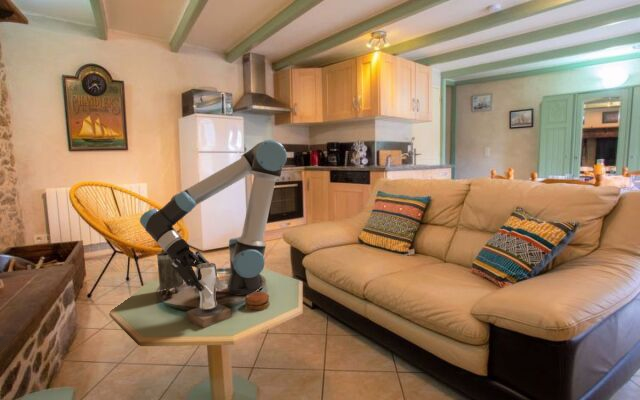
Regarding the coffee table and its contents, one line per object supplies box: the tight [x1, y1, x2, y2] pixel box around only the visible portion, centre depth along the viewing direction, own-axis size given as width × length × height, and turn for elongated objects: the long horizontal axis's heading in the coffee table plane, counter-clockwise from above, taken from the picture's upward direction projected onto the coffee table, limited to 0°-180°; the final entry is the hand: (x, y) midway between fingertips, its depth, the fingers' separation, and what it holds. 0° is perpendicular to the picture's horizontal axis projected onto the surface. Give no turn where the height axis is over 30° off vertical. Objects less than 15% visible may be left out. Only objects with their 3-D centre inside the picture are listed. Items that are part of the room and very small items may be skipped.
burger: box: [244, 291, 270, 311], centre depth 139 cm, size 10×9×5 cm
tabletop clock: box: [156, 248, 184, 299], centre depth 153 cm, size 14×9×25 cm, turn 25°
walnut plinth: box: [186, 302, 232, 329], centre depth 129 cm, size 11×11×3 cm
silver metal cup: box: [195, 262, 218, 310], centre depth 128 cm, size 7×7×15 cm
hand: (216, 292), depth 127 cm, fingers closed on silver metal cup, 7 cm apart
